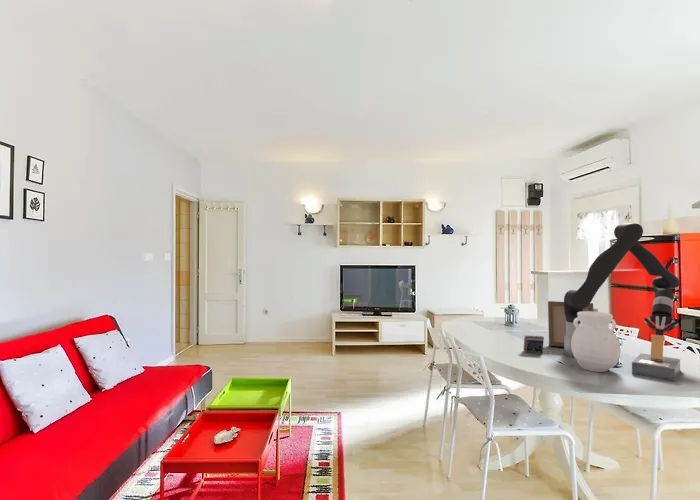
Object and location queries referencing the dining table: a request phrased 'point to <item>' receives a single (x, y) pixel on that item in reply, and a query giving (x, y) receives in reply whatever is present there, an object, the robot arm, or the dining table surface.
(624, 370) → the dining table surface
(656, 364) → the box
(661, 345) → the lever
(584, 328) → the white ceramic vase
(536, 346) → the electrical switch
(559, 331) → the photo frame
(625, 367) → the dining table surface
